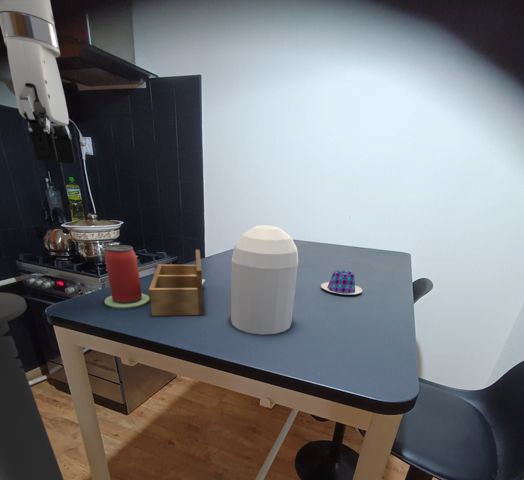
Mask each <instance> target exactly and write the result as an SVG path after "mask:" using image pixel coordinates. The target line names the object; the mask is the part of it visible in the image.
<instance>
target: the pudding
mask: <svg viewBox="0 0 524 480" xmlns="http://www.w3.org/2000/svg"><path fill="white" fill-rule="evenodd" d="M320 287H321V288H322V289H323V290H325V291H327V292H329V293H333V294H337V295H345V296H347V295H348V296H350V295H351V296H352V295H358V294H361V293H362V292H363V291H364V290H363V289H362V287H361V286H358V285H356V280H355V273H354V272H352V271H349V270H344V269H343V270H342V269H339V270H335V271H334V272H333V273H332V275H331V277H330V279H329V281H327V282H322V283H321V284H320Z"/></svg>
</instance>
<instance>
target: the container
mask: <svg viewBox="0 0 524 480" xmlns="http://www.w3.org/2000/svg"><path fill="white" fill-rule="evenodd" d="M298 265H299V253H298V248H297V245H296V243H295V242H294V240H293V237H292V236H291V235H289V234H288V233H287V232H286V231H284V230H283V229H282V228H281V227H279V226H273V225H271V224H270V225H269V224H264V225H262V224H261V225H255V226H253V227H251V228H250V229H248V230H247V231H245V232H244V233H242V234H241V236H240V237H239V238H238V240H237V242H236V243H235V245H234V247H233V253H232V257H231V268H230V269H231V270H230V271H231V273H230V274H231V275H230V277H231V278H230V279H231V282H230V321H231V322H230V323H231V324H232V326H233V327H235V328H236V329H237V330H239V331H242V332H245V333H247V334H252V335H253V334H254V335H263V336H264V335H277V334H279V333H284V332H286V331H287V330H289V329H290V328H291V325H292V320H293V311H294V303H295V302H294V301H295V291H296V283H297V276H298V275H297V274H298Z"/></svg>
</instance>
